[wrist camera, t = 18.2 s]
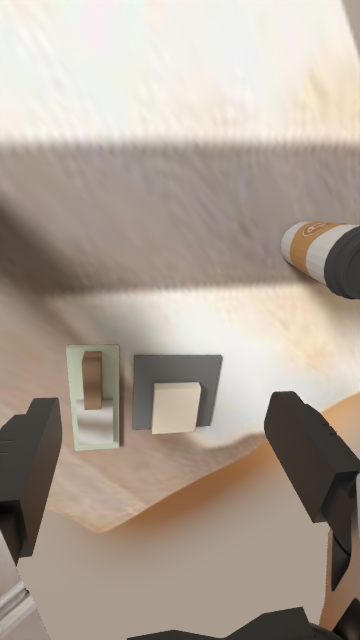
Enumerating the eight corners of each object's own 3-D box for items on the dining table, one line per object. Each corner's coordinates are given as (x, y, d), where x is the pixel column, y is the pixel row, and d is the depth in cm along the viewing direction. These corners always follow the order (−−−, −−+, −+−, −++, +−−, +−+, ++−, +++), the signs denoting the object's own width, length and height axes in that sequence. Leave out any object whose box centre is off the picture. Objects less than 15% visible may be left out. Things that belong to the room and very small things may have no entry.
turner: (73, 351, 44) (69, 362, 42) (112, 351, 45) (111, 362, 43) (80, 440, 52) (77, 455, 49) (113, 438, 53) (112, 453, 50)
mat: (132, 427, 54) (132, 430, 54) (134, 355, 48) (134, 357, 47) (208, 423, 57) (209, 425, 56) (220, 354, 50) (221, 356, 50)
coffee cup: (319, 204, 42) (408, 212, 28) (327, 256, 46) (410, 285, 32) (267, 228, 42) (331, 247, 29) (279, 277, 46) (341, 315, 32)
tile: (154, 382, 50) (151, 425, 54) (155, 389, 48) (152, 434, 52) (198, 381, 51) (192, 423, 55) (201, 388, 49) (194, 431, 53)
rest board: (75, 446, 54) (74, 450, 53) (67, 345, 45) (66, 348, 44) (119, 443, 55) (118, 447, 54) (119, 345, 46) (119, 348, 45)
